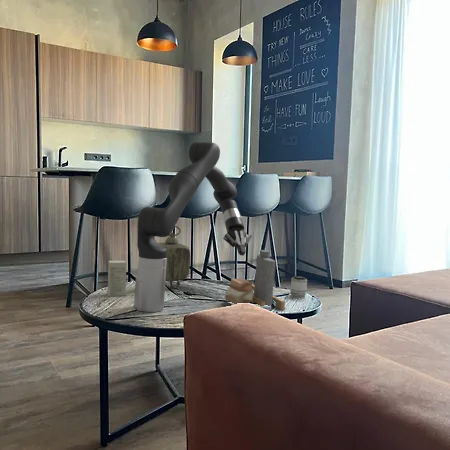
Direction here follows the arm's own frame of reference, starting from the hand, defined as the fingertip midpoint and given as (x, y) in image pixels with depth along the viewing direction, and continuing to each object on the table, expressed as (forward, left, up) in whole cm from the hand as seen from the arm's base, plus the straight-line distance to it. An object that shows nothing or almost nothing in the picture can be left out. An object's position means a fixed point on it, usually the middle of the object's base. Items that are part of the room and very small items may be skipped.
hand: (242, 254), depth 182 cm
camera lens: (+21, -10, -15) cm, 28 cm away
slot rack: (0, -14, -15) cm, 21 cm away
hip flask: (-1, -21, -15) cm, 26 cm away
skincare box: (-50, -1, -15) cm, 52 cm away
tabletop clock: (-28, +7, -15) cm, 32 cm away
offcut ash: (-9, -19, -13) cm, 25 cm away
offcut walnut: (-9, -19, -16) cm, 26 cm away
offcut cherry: (-9, -19, -10) cm, 23 cm away
